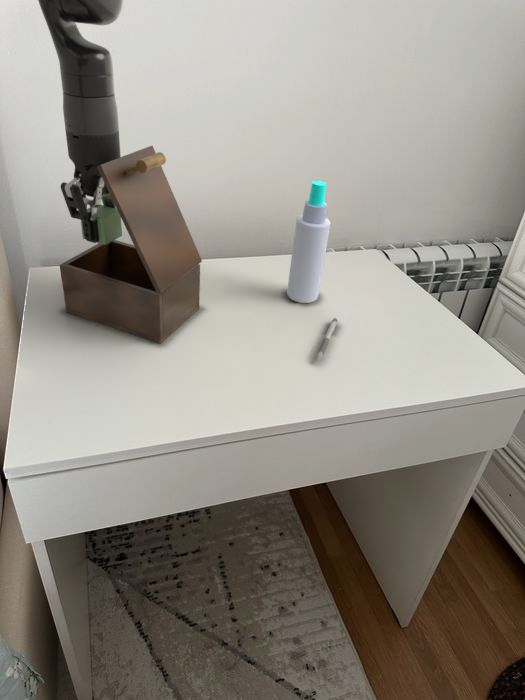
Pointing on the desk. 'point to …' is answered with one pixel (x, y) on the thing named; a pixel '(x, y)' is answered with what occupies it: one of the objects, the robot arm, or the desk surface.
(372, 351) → the desk surface
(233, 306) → the desk surface
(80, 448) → the desk surface
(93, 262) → the chest
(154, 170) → the lid
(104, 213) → the block
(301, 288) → the spray bottle
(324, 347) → the pen
